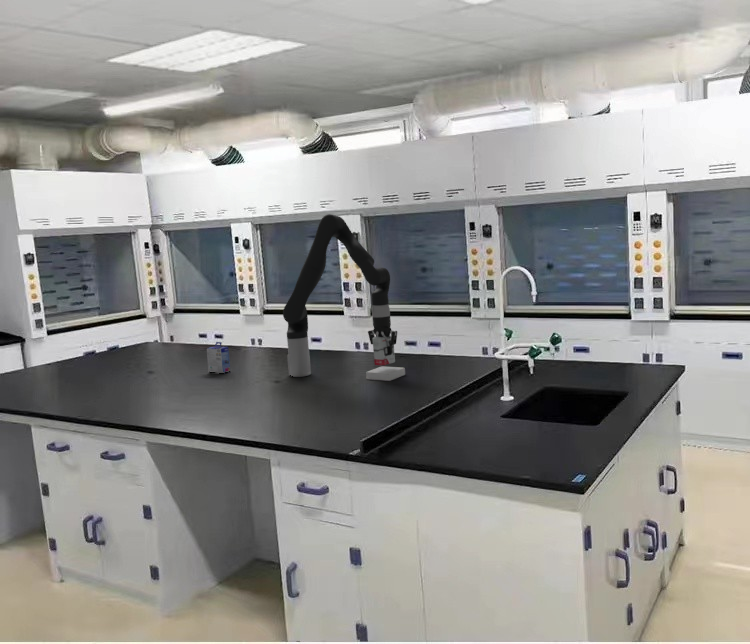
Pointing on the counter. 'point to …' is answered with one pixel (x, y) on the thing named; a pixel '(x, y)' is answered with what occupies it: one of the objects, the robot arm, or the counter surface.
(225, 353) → the ink cartridge box
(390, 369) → the stand
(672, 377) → the counter surface
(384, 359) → the ink box
